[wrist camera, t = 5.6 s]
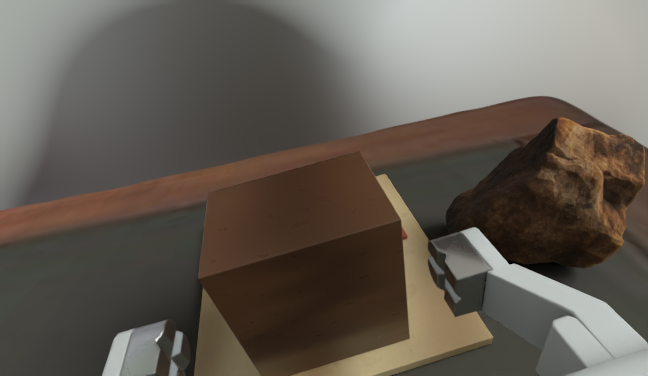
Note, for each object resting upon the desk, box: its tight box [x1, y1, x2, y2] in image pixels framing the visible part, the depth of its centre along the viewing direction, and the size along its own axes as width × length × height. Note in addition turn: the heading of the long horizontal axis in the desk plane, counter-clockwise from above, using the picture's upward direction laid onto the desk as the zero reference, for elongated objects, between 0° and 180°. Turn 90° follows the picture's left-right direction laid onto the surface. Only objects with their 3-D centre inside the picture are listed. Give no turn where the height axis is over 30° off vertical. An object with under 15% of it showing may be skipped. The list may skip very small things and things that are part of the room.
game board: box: [194, 174, 493, 376], centre depth 30 cm, size 20×20×1 cm
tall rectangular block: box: [198, 151, 410, 376], centre depth 22 cm, size 10×7×11 cm
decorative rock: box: [446, 117, 645, 268], centre depth 25 cm, size 12×6×11 cm, turn 69°
